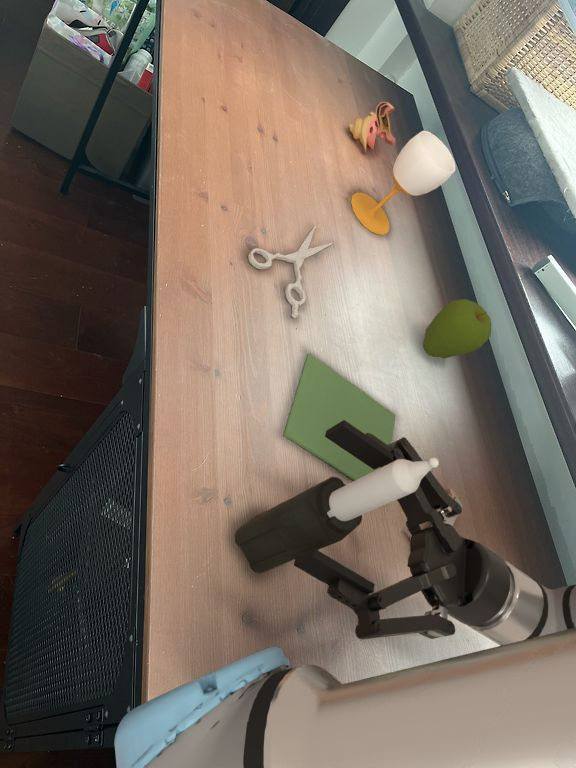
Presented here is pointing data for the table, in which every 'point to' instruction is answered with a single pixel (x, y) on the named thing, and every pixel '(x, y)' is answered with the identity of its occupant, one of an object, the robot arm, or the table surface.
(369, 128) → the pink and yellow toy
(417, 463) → the candle
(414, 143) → the cup
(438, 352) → the green rounded fruit
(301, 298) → the scissors
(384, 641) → the table surface
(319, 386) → the cloth
